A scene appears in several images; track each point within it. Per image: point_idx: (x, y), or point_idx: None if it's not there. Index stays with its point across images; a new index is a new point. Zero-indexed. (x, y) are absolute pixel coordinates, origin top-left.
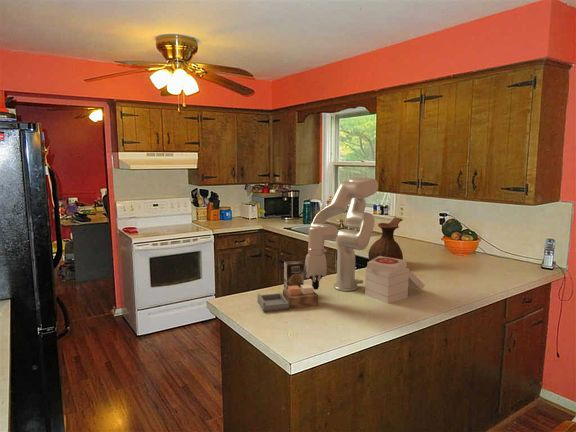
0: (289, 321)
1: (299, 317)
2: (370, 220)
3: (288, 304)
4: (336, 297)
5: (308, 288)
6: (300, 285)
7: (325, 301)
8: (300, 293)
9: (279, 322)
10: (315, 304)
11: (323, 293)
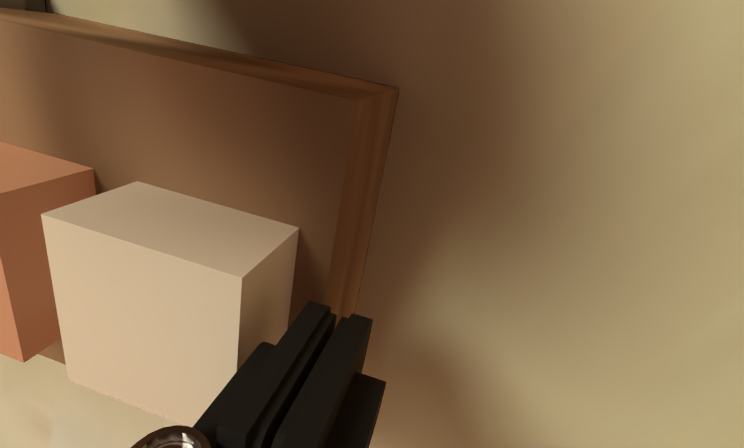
0: (60, 432)
1: (127, 430)
2: None
3: None
4: (740, 307)
5: (151, 403)
6: (49, 211)
7: (488, 327)
8: None
9: (6, 408)
10: None
11: (711, 53)
